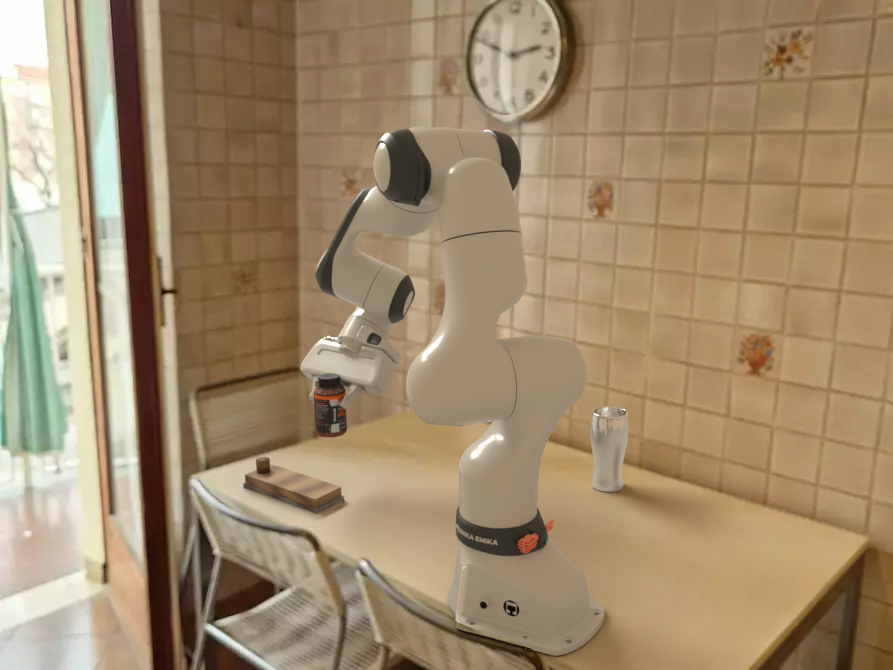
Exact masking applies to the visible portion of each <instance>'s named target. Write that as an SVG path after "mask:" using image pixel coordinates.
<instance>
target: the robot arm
mask: <svg viewBox="0 0 893 670" xmlns="http://www.w3.org/2000/svg"><path fill="white" fill-rule="evenodd" d="M374 149H375V150H374V156H373V157H374V158H373V164H372V165H373V166H372V167H373V173H374V174H373V175H374V178H375V183H376V185H375V186H373V187H372V186H371V187H364V188H363V189H362V190H361V191H360V192H359V193H358V194H357V196H356V197H355V198H354V199H353V202H351V204H350V206H349V207H348V210H347V211H346V213H345V215H344V217H343V218H342V220H341V222H340V224H339V226H338V228H337V231H336V232H335V234H334V236H333V238H332V240H331V242H330V244H329V246H328V248H327V249H326V251H324V252H323V254H322V256H321V257H320V259H319V261H318V263H317V265H316V270H315V273H314V277H315V279H316V282H317V284H318V287H319V289H320V291H321V292H322V293H325V294H327V295H329V296H332V297H335V298H337V299H338V298H339V299H342V300H343V301H345V302H347V303H349V304H351V305H353V306H355V310H354V311H353V312H352V313H351V314H350V315H349V316H348V318H347V320H346V321H345V323H344V325H343V327H342V329H341V331H340V332H339V334H338V336H337V337H334V336H330V335H326V336H325V337H323V338H321V339H319V340H318V341H317V342H316V343H315V344H314V345H313V346H312V347H311V349H309V351H308V352H307V354H306V356H305V357H304V359H303V360H302V362H301V363H300V368H299V369H300V372H301V373H302V374H303V375H304V376H305V377H306V378H308V379H310V380H312V383H311V384H312V390H311V391H310V394H309V395H308V398H309V400H311V401H312V402H314V389H315V388H316V387H317V386H318V385H319V383H318V376H319V375H321V374H326V373H335V374H338V375H339V376H340V384H341V385H342V386H344V388H349V391H348V392H347V393H345V396H344V397H343V396H340V398H339V401H338V402H337V405H338V406H339V407H340V408H343V409H346V410H348V408H349V407H350V405H351V403H353V402H354V401H355V400H356V399H358V398H359V397H361V395H362V393H363V392H364V393H365V392H366V393H370V394H375V395H382V394H384V393H385V392H386V391H387V389H388V388H389V387H390V384H391V383H392V380H393V378H394V376H395V373H396V372H397V371H396V370H397V364H399V363H400V362H401V360H402V357H403V356H402V354H401V353H400V352H399V351H398V349H397V348H396V347H395V345H393V344H392V343H391V341H389V340H390V336H391V331H392V329H393V328H394V327H395V326H396V324H397V323H399V322H401V321H404V318H405V317H406V314H407V313H408V311H409V309H410V307H411V305H412V303H413V301H414V299H415V295H416V291H415V287H414V284H413V281H412V279H411V277H410V275H409V274H408V273H407V272H406V271H404V270H402V268H400V267H397V266H394V265H391V264H389V263H385V262H384V261H382V260H379V259H377V258H375V257H374V256H372V255H370V254H367V253H365V252H363V251H362V250H360V249H359V248H358V247H357V246H356V245H357V243H358V241H359V239H360V237H361V236H362V234H363V233H377V234H383V235H388V236H392V237H397V238H399V237H400V238H408V237H414V236H417V235H419V234H422V233H424V232H426V231H428V230H429V229H430V228H431V227H433V226H434V224H435V222H436V221H437V219H439V236H440V244H441V245H440V246H441V251H442V254H441V255H442V262H443V263H442V264H443V274H444V305H443V306H444V307H443V312H442V314H441V319H440V321H439V324H438V327H437V328H436V331H435V333H434V335H433V336H432V338H431V339H430V341H429V342H428V344H427V345H426V346H425V347H424V349H422V351H420V353H418V354H417V355H416V357H415V358H414V359H413V360H412V362H411V364H410V366H409V368H408V371H407V374H406V381H405V391H406V396H407V400H408V403H409V405H410V407H411V409H412V410H413V412H414V413H415V415H416V416H417V417H418V418H419V419H420V420H421V421H423V423H425V424H427V425H435V426H443V427H444V426H446V427H447V426H449V427H463V426H470V425H471V426H472V425H476V424H477V425H478V424H484V423H489V422H491V423H490V425H489V427H488V428H487V429H486V431H485V432H484V434H483V435H482V436H480V437H479V438H478V439H476V440H475V441H474V442H472V443H471V444H470V445H469V446H468V447H467V448H466V449H465V450H464V452H463V454H462V456H461V458H460V460H459V465H458V507H457V508H456V511H455V535H456V538H457V539H458V540H457V541H458V544H457V545H458V546H457V554H456V555H457V557H456V564H455V571H454V576H453V581H452V583H451V584H452V585H451V589H450V591H449V594H448V598H447V599H448V605H449V607H450V609H451V610H452V612H453V614H454V616H455V619H454V622H455V621H457V622H458V623H461V624H463V625H465V626H467V627H470V628H472V629H474V630H476V631H480V632H483V633H486V634H490V635H493V636H497V637H502V638H506V639H510V640H513V641H515V642H518V643H520V644H522V645H525V646H527V647H529V648H531V649H532V650H531V649H530V650H531V651H535V652H539V653H543V654H546V655H550V656H554V657H555V656H556V657H557V656H562V655H566V654H569V653H571V652H573V651H576V650H578V649H579V648H581V647H582V646H584V645H585V644H586V643H588V642H589V641H591V639H592V638H593V637H594V636H595V635H596V634H597V632H599V630H600V629H601V628H602V625H603V624H604V621H605V616H606V615H605V607H604V603H602V602H601V601H599V600H598V599H595V598H593V597H591V596H589V595H590V594H589V589H588V587H589V586H588V583H587V578H586V576H585V573H584V572H583V570H582V569H580V568H579V566H578V565H576V564H575V563H574V562H573V561H572V560H571V559H570V558H569V557H568V556H567V555H566V554H565V553H564V552H563V551H562V550H561V548H559V547H558V546H557V545H556V543H554V542H553V541H552V540H551V539H550V538H549V533H548V532H550V531H551V530H552V529H553V528H554V527H555V526H554V525H553V524H554V521H555V519H551V520H550V521H548V523H546V524H545V522H544V519H543V517H542V514H541V512H540V509H539V507H538V495H539V494H538V493H539V492H538V491H539V489H538V488H539V478H540V467H541V462H542V461H541V460H542V457H543V453H544V451H545V447H546V446H547V444H548V441H549V438H550V436H551V434H552V433H553V431H554V429H555V427H556V425H557V424H558V423H559V422H560V420H561V418H563V416H564V415H565V414H566V413H567V411H568V410H570V409H571V407H573V406H574V405H575V404H576V403H577V402H578V401H580V400H581V398H582V396H583V394H584V392H585V390H586V386H587V384H588V383H587V382H588V366H587V362H586V359H585V357H584V354H583V353H582V351H581V350H580V348H579V347H578V345H576V344H575V343H574V342H573V340H571V339H570V338H567V337H559V336H552V335H551V336H550V335H540V334H534V335H533V334H532V335H525V336H515V337H514V336H513V337H507V338H505V337H504V338H498V339H497V338H496V337H497V336H496V332H497V325H498V321H499V319H500V317H501V315H503V314H504V313H505V312H507V311H508V310H510V309H511V308H513V306H515V305H517V304H518V302H519V301H520V300H522V298H523V296H524V294H525V292H526V290H527V286H528V278H527V277H528V276H527V270H526V261H525V253H524V246H523V245H524V243H523V237H522V229H521V224H520V216H519V212H518V208H517V207H518V206H517V203H516V199H515V195H514V191H515V190H516V187H517V185H518V183H519V181H520V177H521V172H522V160H521V158H522V157H521V153H520V151H519V148H518V145H517V144H516V142H515V141H514V139H513V138H512V137H511V135H509V134H507V133H505V132H501V131H498V130H493V129H485V130H479V129H477V130H476V129H470V128H469V129H468V128H454V127H453V128H451V127H448V126H439V127H438V126H437V127H436V126H435V127H430V126H426V125H425V126H423V125H420V126H413V127H410V128H401V129H395V130H393V131H392V130H391V131H389V132H386V133H384V134H383V135H382V136H381V138H380V139H379V141H378V142H377V144H376V146H375V148H374Z"/></svg>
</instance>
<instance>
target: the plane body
mask: <svg viewBox="0 0 893 670" xmlns="http://www.w3.org/2000/svg"><path fill="white" fill-rule="evenodd" d="M255 463H256V466H255V467H256V470H255V469H254V470H253V471H250V472H248V473H246V474H244V482H243V483H242V485H243V488H244V489H248V490H251V491H253V492H256V493H259V494H262V495H265V496H267V497H269V498H272V499H276V500H278V501H281V502H284V503H286V504H289V505H291V506H295V507H297V508H299V509H300V508H301V509H303V510H306V511H308V512H311V513H314V514H319V513H321V512H324V511H325V510H327V509H329V508H331V507H333V506H335V505H337V504H339V503H341V502H343V501H344V500H345V496H344V495H342V486H339V485H336V484H333V483H332V482H327V481H325V480H321V479H318V478H315V477H312V476H309V475H306V474H303V473H300V472H297V471H294V470H291V469H287V468H284V467H282V466H280V465H277V464H276V465H275V464H272V463H271V459H270V458H269V457H268V456H261V457H257V458H256V459H255Z"/></svg>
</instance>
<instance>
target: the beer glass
mask: <svg viewBox="0 0 893 670" xmlns="http://www.w3.org/2000/svg"><path fill="white" fill-rule="evenodd" d="M591 416H592V417H591V424H590V444H591V445H590V446H591V450H592V451H591V452H592V459H593V460H592V461H593V473H592V477H591V478H592V480H591V481H590V483H591V487H592V488H593V489H594V490H597V491H600V492H603V493H615V492H619V491H621V490H623V488H624V477H623V465H624V464H623V463H624V460H625V455H626V451H627V447H628V440H629V412H628V411H627V410H626V409H625V408H622V407H618V406H613V405H611V406H610V405H607V406H606V405H605V406H604V405H603V406H598V407H595V408H593V410H592V415H591Z"/></svg>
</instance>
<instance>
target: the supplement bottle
mask: <svg viewBox="0 0 893 670" xmlns="http://www.w3.org/2000/svg"><path fill="white" fill-rule="evenodd" d="M318 383H319V385H318V386H317V387H316V388H315V389H314V401H313V409H314V410H313V411H314V428H315V433H316V435H317V436H319V437H322V438H338V437H341V436H343V435H344V434H346V433H347V431H348V429H347V428H348V423H347V419H348V418H347V409H343V408H340V407H339V406H338V405H337V402H338V401H339V398H340V396H343V397H344V396H345V395H346V387H344V386H342V385H341V384H340V376H339V375H338V374H335V373H326V374H321V375H319V376H318Z"/></svg>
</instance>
